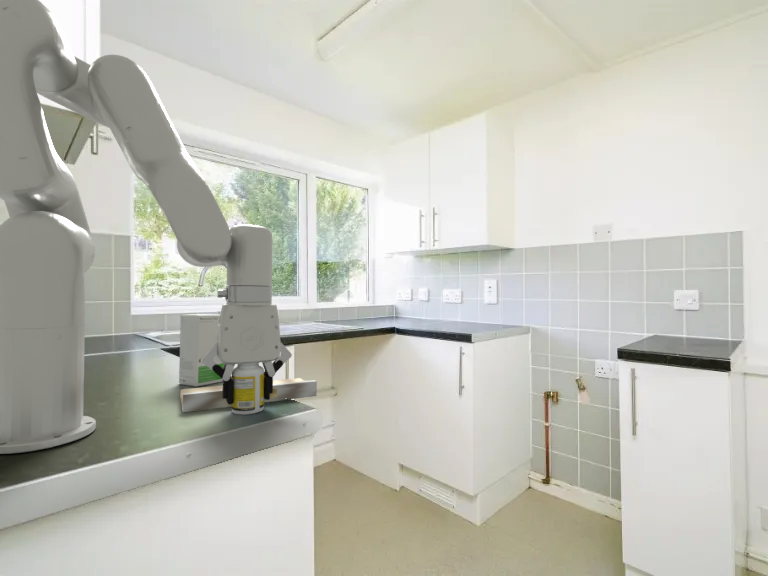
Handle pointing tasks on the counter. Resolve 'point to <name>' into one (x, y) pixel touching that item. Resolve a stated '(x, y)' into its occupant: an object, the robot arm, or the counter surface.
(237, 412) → the supplement bottle
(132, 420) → the counter surface
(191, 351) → the skincare box
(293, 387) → the shelf plank
